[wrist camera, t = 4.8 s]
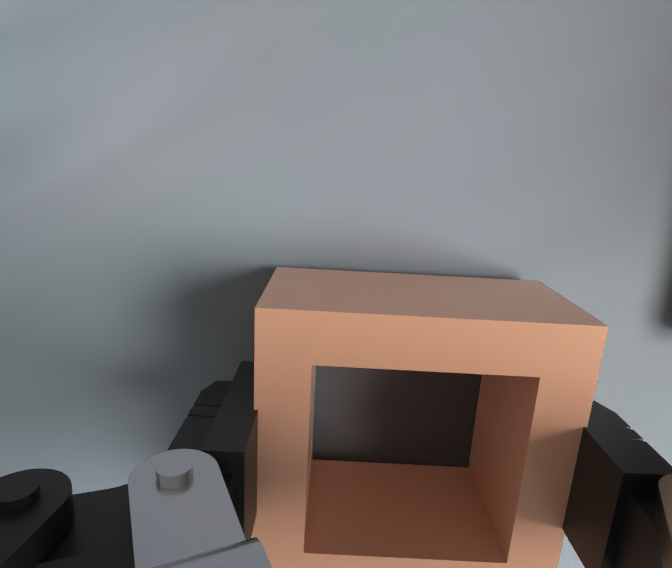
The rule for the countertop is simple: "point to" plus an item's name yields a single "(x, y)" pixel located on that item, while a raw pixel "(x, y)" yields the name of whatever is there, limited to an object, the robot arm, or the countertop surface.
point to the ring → (422, 480)
